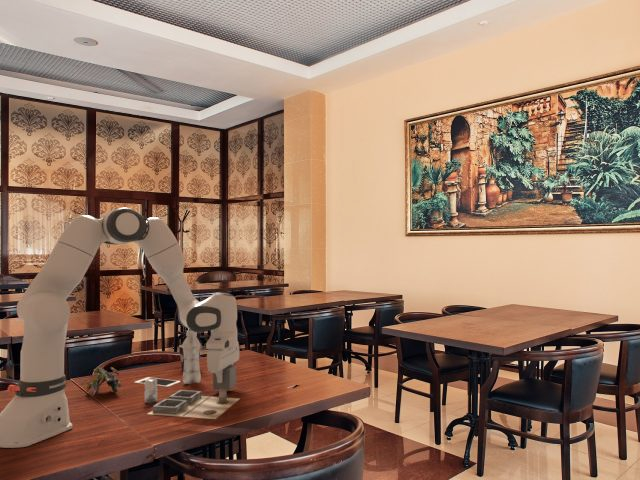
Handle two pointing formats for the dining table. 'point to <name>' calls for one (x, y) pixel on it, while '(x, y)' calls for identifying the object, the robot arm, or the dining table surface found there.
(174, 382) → the cell phone
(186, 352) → the plastic bottle
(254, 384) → the dining table surface
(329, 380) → the dining table surface
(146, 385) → the steel peg
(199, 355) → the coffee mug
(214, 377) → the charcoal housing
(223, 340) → the robot arm
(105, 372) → the olive green irregular piece
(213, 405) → the board
